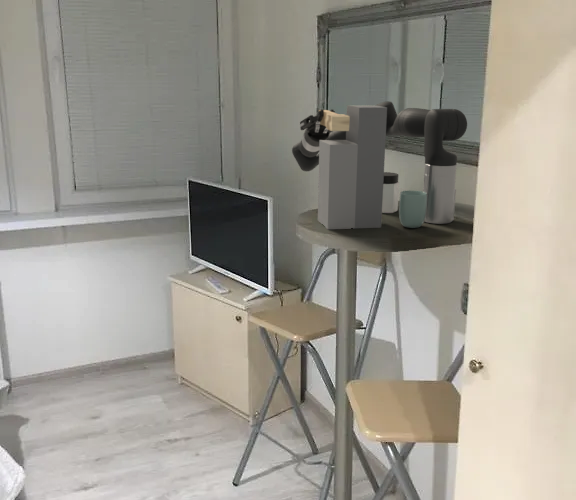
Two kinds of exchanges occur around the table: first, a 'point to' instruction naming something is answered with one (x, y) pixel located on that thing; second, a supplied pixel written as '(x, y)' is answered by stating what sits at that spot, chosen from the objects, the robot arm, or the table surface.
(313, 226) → the table surface
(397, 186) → the jar
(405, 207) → the cup
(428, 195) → the robot arm
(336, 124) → the tan wooden bar piece
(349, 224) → the stand
